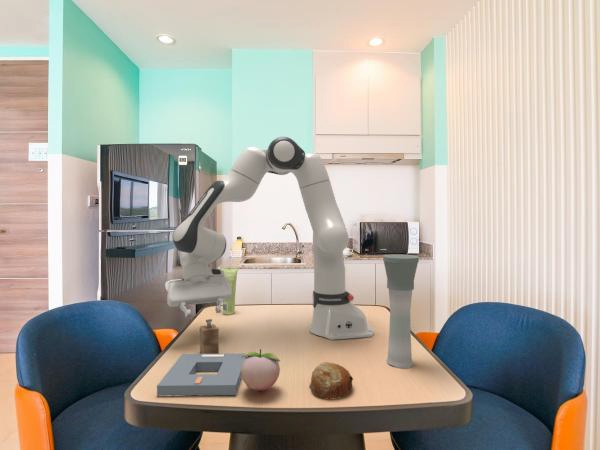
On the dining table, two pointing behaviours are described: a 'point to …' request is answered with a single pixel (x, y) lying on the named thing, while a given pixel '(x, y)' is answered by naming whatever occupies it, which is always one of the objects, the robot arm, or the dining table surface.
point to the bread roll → (330, 381)
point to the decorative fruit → (260, 370)
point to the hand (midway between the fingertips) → (204, 314)
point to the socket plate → (203, 375)
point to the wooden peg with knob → (209, 339)
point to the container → (400, 307)
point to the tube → (231, 277)
